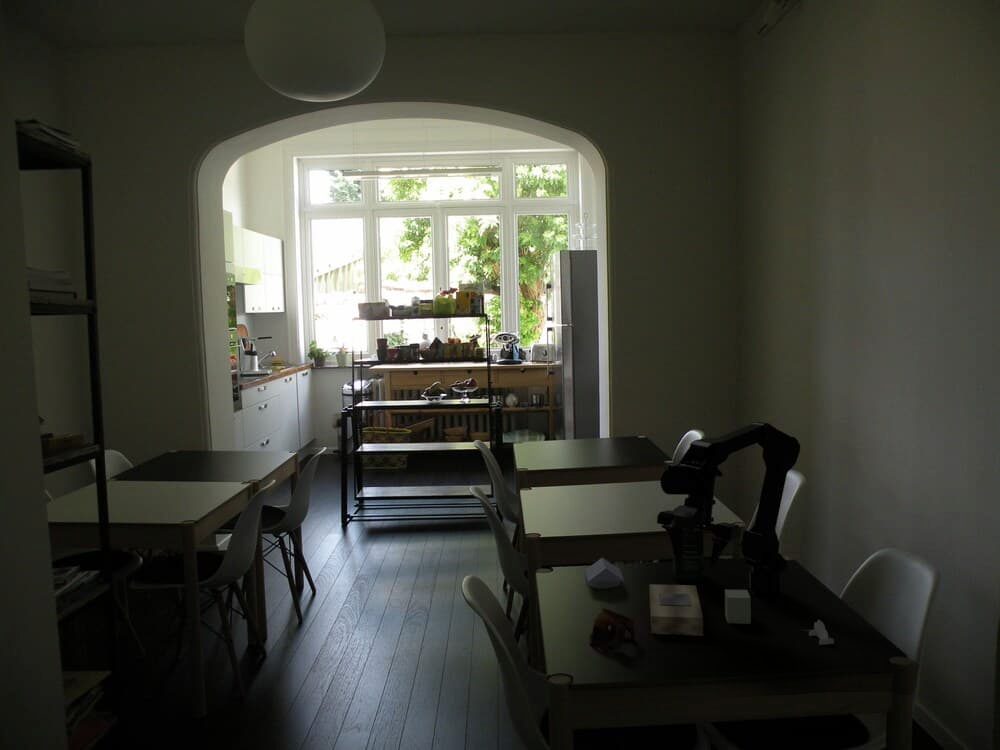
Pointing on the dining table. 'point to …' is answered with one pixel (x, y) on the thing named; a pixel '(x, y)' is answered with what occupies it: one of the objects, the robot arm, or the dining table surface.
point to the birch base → (675, 610)
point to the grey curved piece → (820, 633)
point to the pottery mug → (617, 631)
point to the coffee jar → (690, 555)
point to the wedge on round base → (603, 575)
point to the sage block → (738, 606)
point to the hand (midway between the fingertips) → (694, 561)
